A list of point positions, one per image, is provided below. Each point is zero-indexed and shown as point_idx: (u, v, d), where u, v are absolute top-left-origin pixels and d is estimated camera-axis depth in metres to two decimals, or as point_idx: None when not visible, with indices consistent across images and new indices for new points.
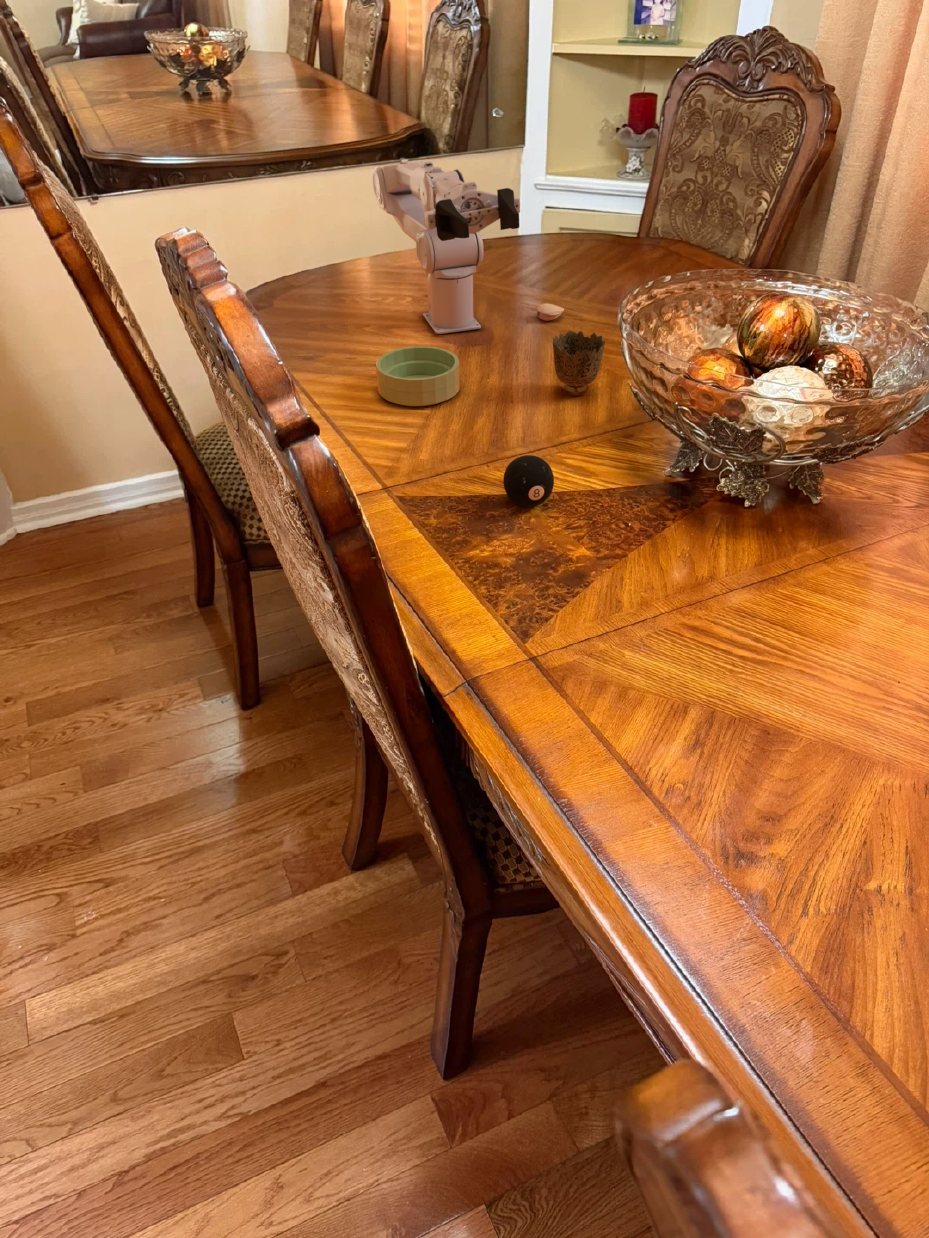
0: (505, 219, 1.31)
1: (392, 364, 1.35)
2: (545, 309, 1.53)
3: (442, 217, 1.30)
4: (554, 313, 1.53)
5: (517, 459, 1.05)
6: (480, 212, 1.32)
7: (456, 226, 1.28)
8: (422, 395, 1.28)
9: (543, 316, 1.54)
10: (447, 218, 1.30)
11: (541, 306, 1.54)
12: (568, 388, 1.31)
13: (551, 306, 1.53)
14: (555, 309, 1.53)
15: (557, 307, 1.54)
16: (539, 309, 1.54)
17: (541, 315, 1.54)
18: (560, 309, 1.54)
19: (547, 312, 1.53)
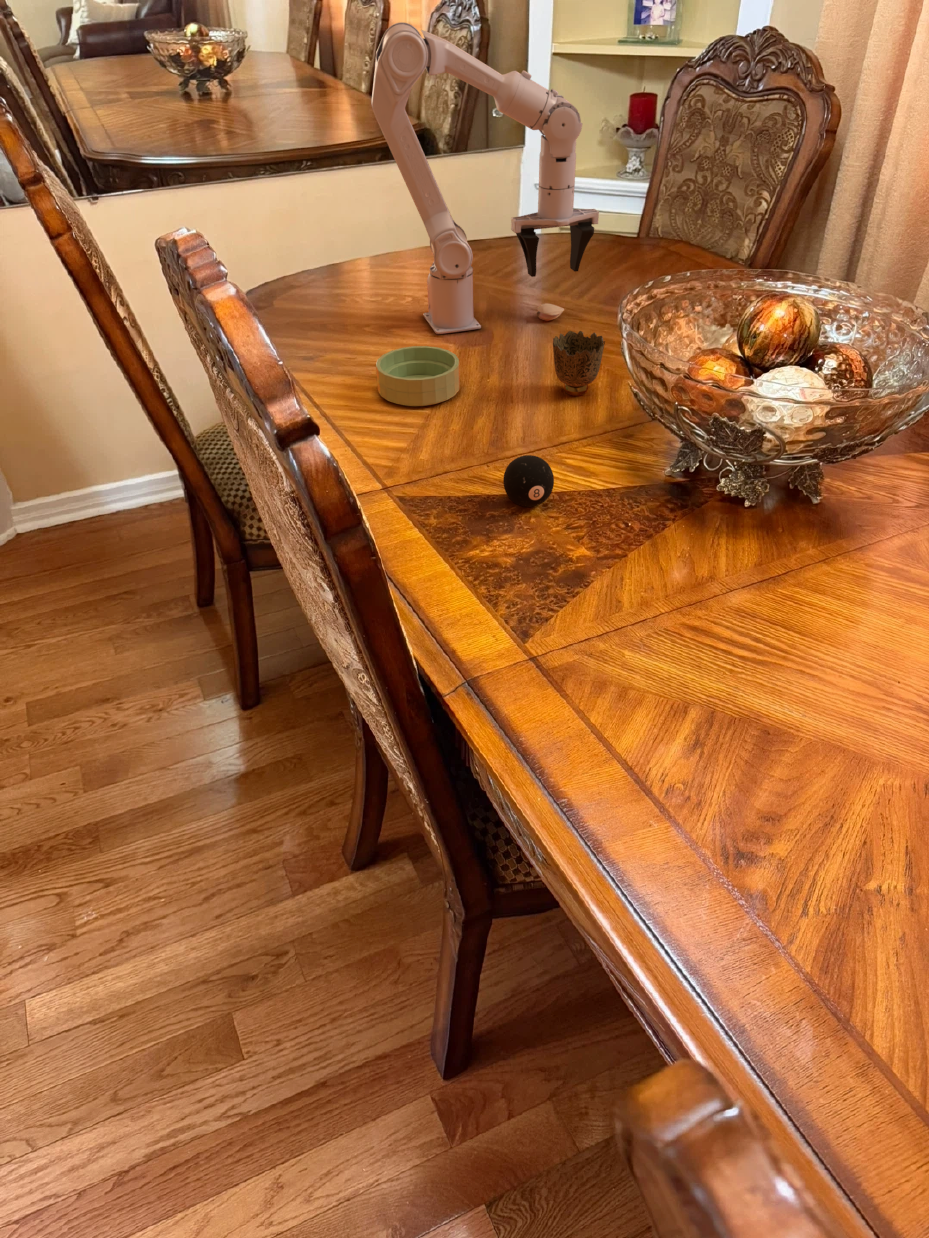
0: (573, 242, 1.49)
1: (392, 364, 1.35)
2: (545, 309, 1.53)
3: None
4: (554, 313, 1.53)
5: (517, 459, 1.05)
6: (560, 225, 1.46)
7: (529, 256, 1.48)
8: (422, 395, 1.28)
9: (543, 316, 1.54)
10: None
11: (541, 306, 1.54)
12: (568, 388, 1.31)
13: (551, 306, 1.53)
14: (555, 309, 1.53)
15: (557, 307, 1.54)
16: (539, 309, 1.54)
17: (541, 315, 1.54)
18: (560, 309, 1.54)
19: (547, 312, 1.53)
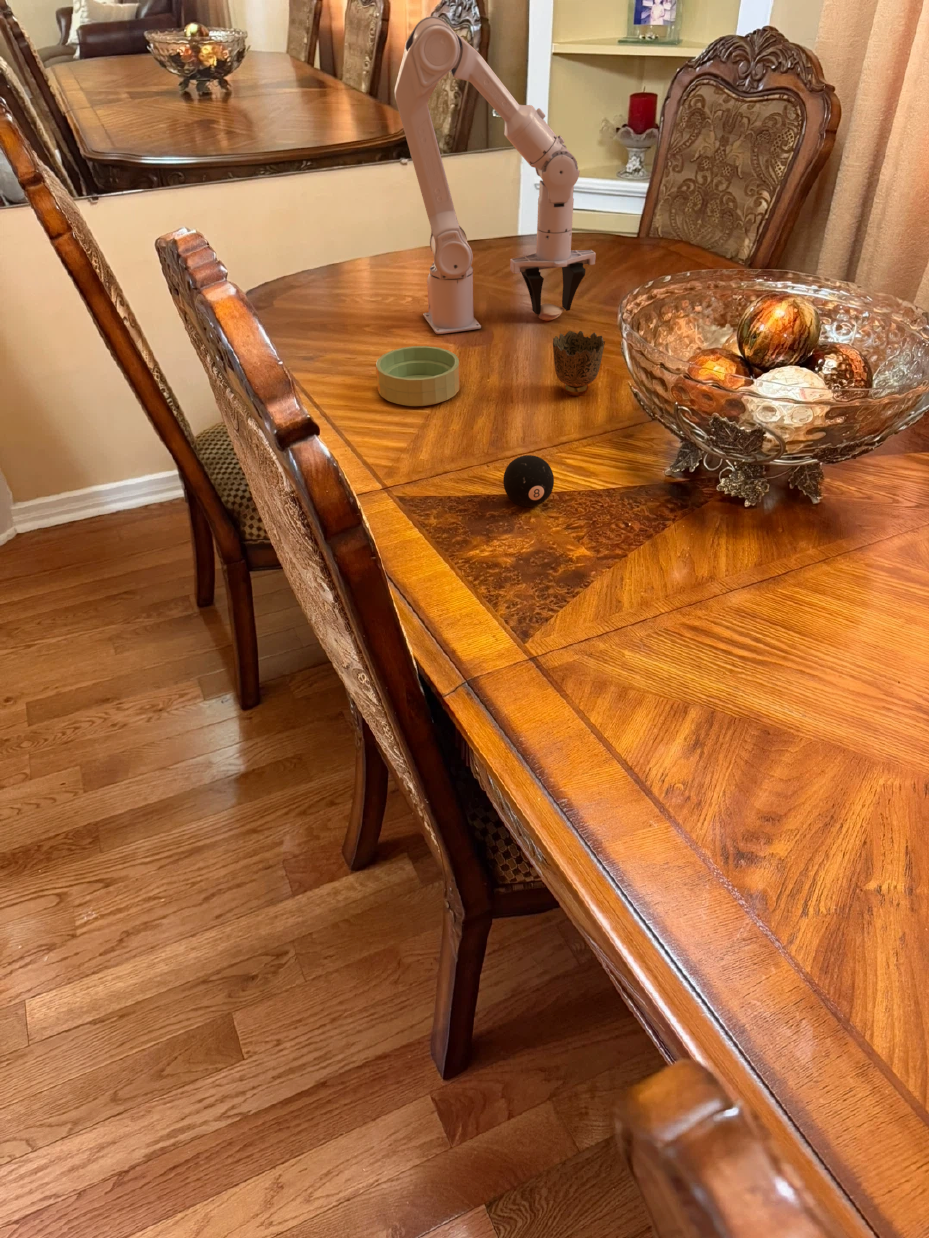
0: (565, 282, 1.53)
1: (392, 364, 1.35)
2: (545, 309, 1.53)
3: None
4: (554, 313, 1.53)
5: (517, 459, 1.05)
6: None
7: (534, 295, 1.52)
8: (422, 395, 1.28)
9: (543, 316, 1.54)
10: None
11: (541, 306, 1.54)
12: (568, 388, 1.31)
13: (551, 306, 1.53)
14: (555, 309, 1.53)
15: (557, 307, 1.54)
16: None
17: (541, 315, 1.54)
18: (560, 309, 1.54)
19: (547, 312, 1.53)
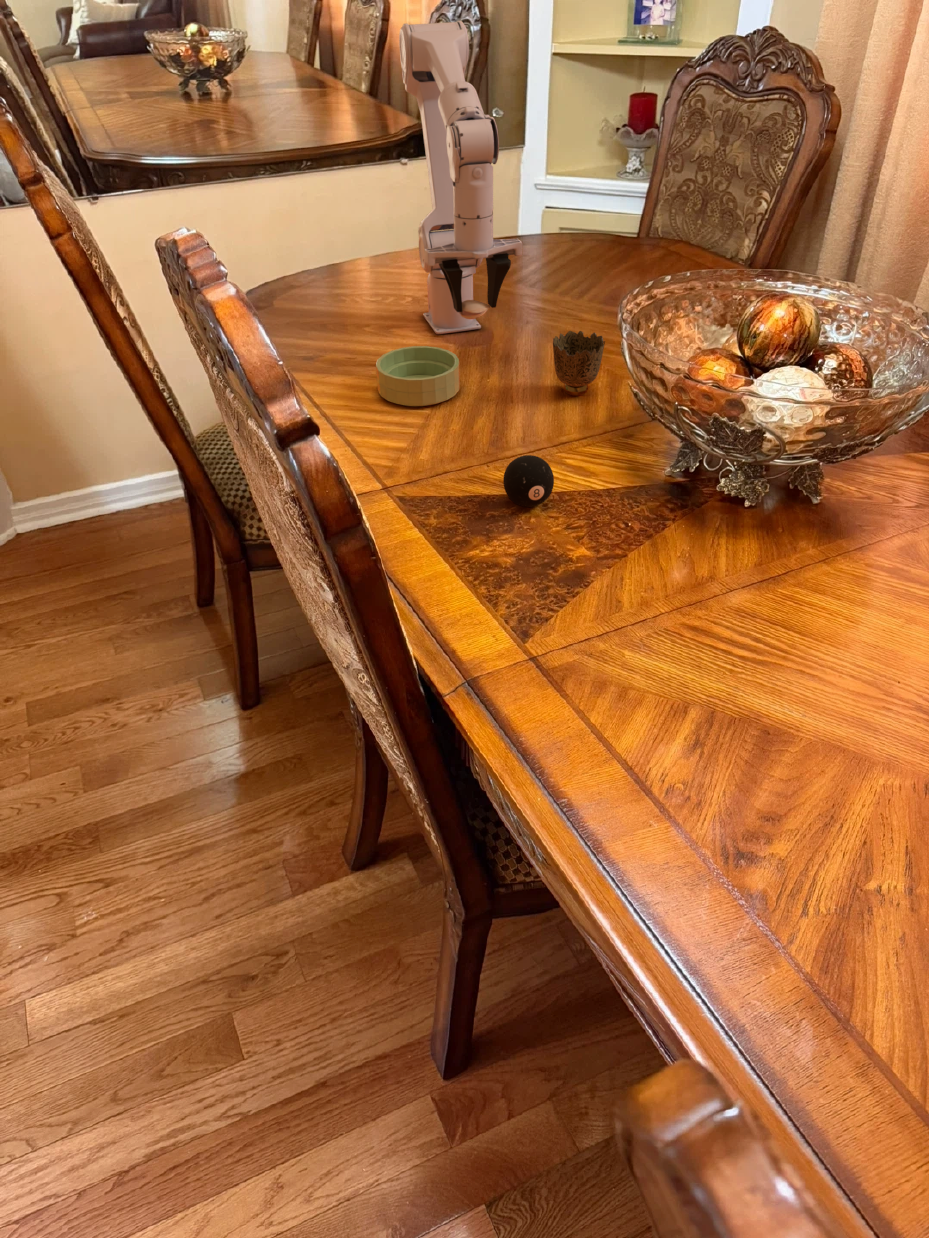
0: (489, 276, 1.35)
1: (392, 364, 1.35)
2: (467, 306, 1.35)
3: None
4: (478, 311, 1.35)
5: (517, 459, 1.05)
6: (480, 257, 1.32)
7: None
8: (422, 395, 1.28)
9: (466, 314, 1.36)
10: None
11: (463, 303, 1.36)
12: (568, 388, 1.31)
13: (474, 303, 1.36)
14: (479, 306, 1.35)
15: (481, 304, 1.36)
16: None
17: (464, 313, 1.36)
18: (485, 306, 1.36)
19: (470, 309, 1.35)
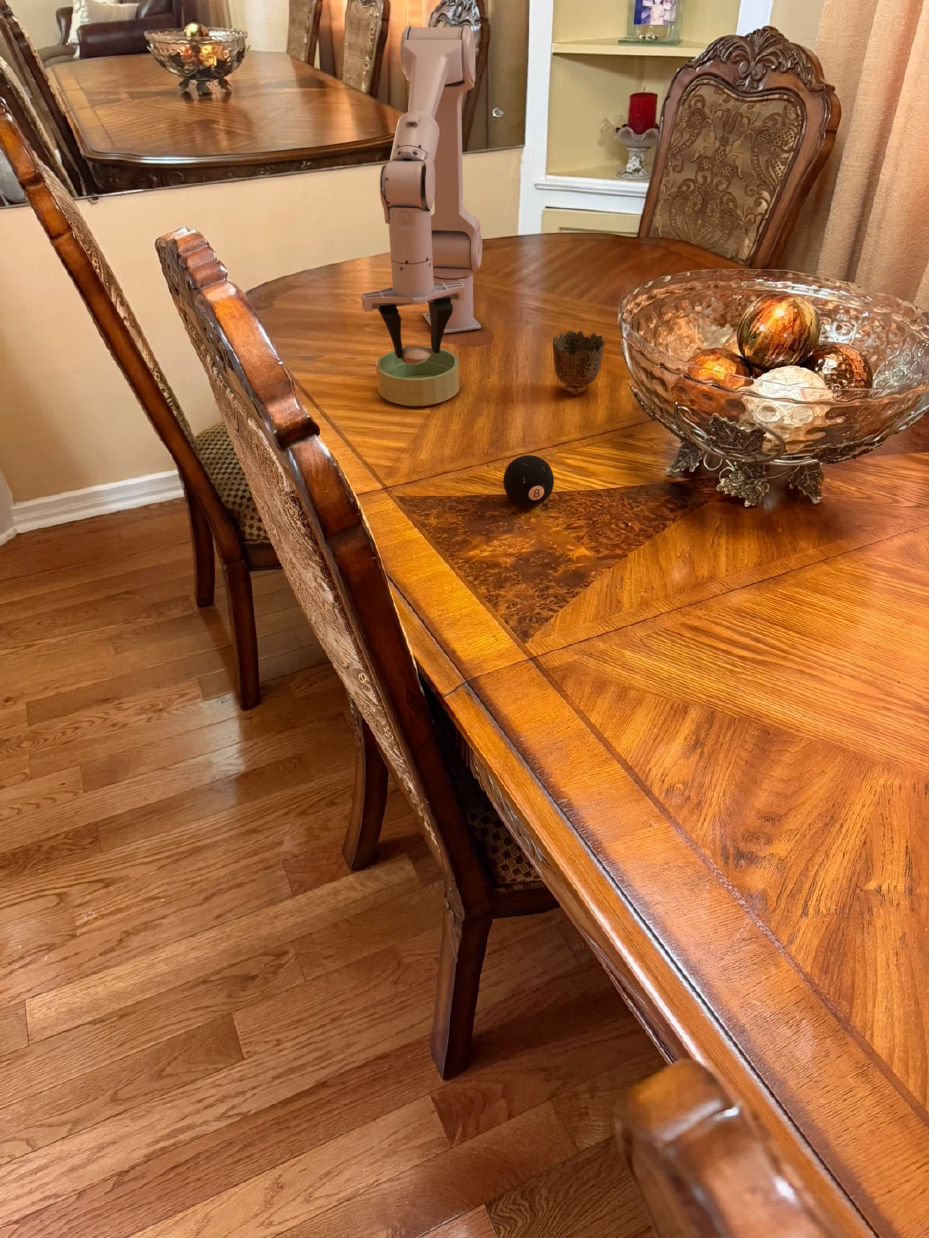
0: (432, 320, 1.28)
1: (392, 364, 1.35)
2: (408, 352, 1.28)
3: None
4: (419, 357, 1.28)
5: (517, 459, 1.05)
6: None
7: None
8: (422, 395, 1.28)
9: (407, 360, 1.29)
10: None
11: (405, 348, 1.29)
12: (568, 388, 1.31)
13: (416, 348, 1.29)
14: (421, 352, 1.29)
15: (424, 349, 1.29)
16: None
17: (405, 359, 1.30)
18: (428, 352, 1.29)
19: (411, 356, 1.28)
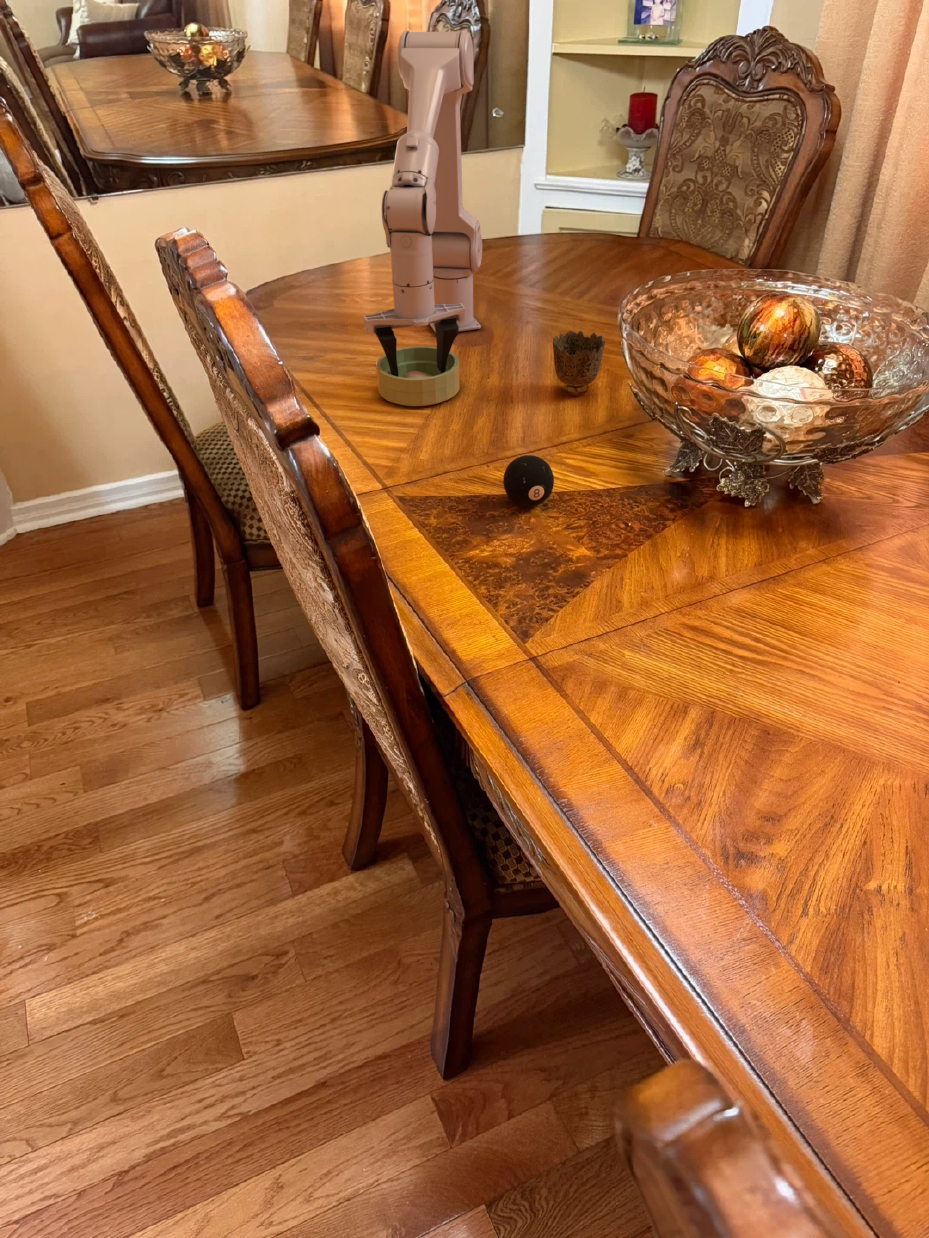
0: (438, 340, 1.31)
1: None
2: None
3: None
4: None
5: (517, 459, 1.05)
6: None
7: None
8: (422, 395, 1.28)
9: None
10: None
11: (406, 374, 1.32)
12: (568, 388, 1.31)
13: (417, 374, 1.31)
14: None
15: (425, 375, 1.32)
16: None
17: None
18: None
19: None
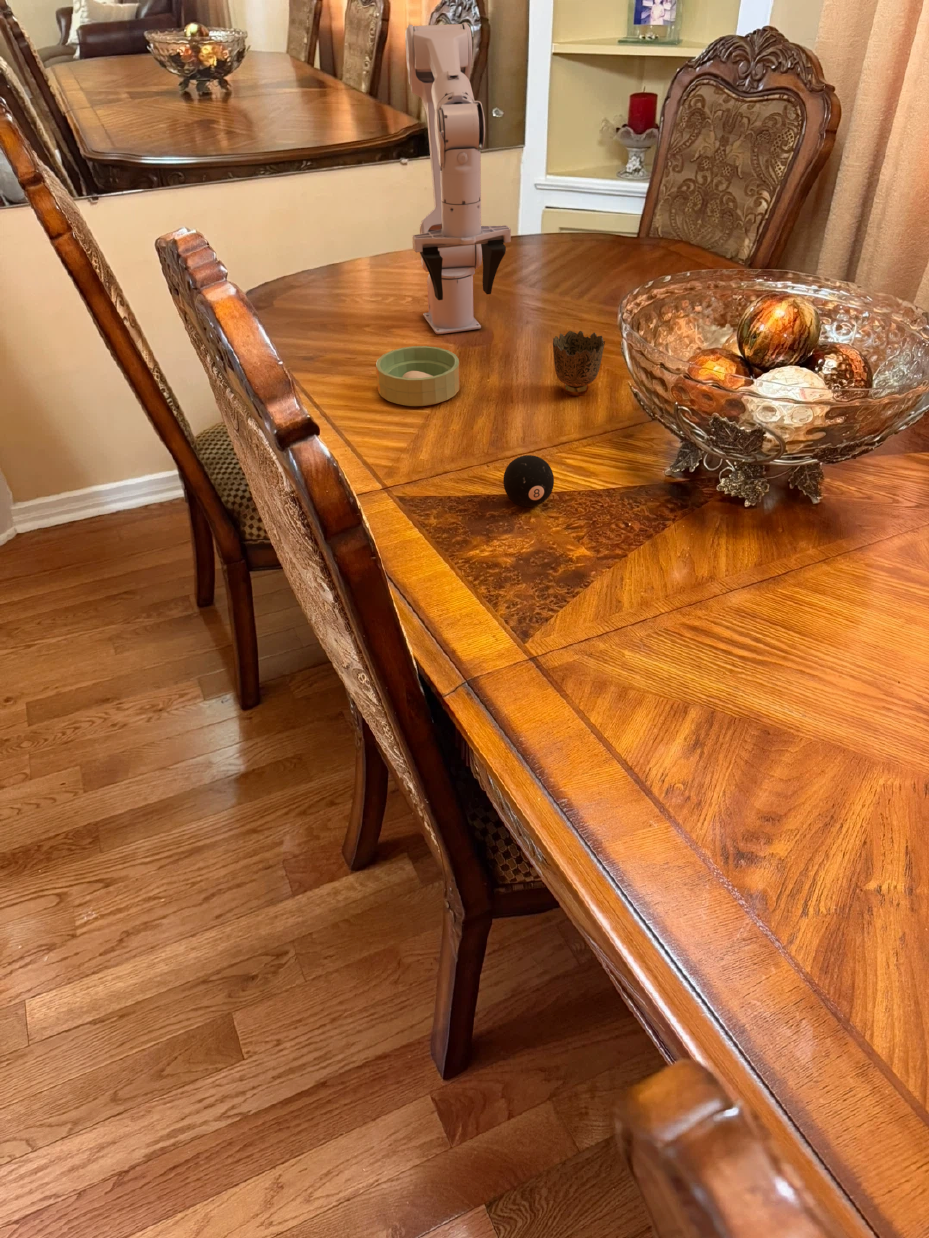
0: (484, 262, 1.34)
1: (392, 364, 1.35)
2: None
3: None
4: None
5: (517, 459, 1.05)
6: (468, 244, 1.31)
7: None
8: (422, 395, 1.28)
9: None
10: None
11: (406, 374, 1.32)
12: (568, 388, 1.31)
13: (417, 374, 1.31)
14: None
15: (425, 375, 1.32)
16: None
17: None
18: None
19: None
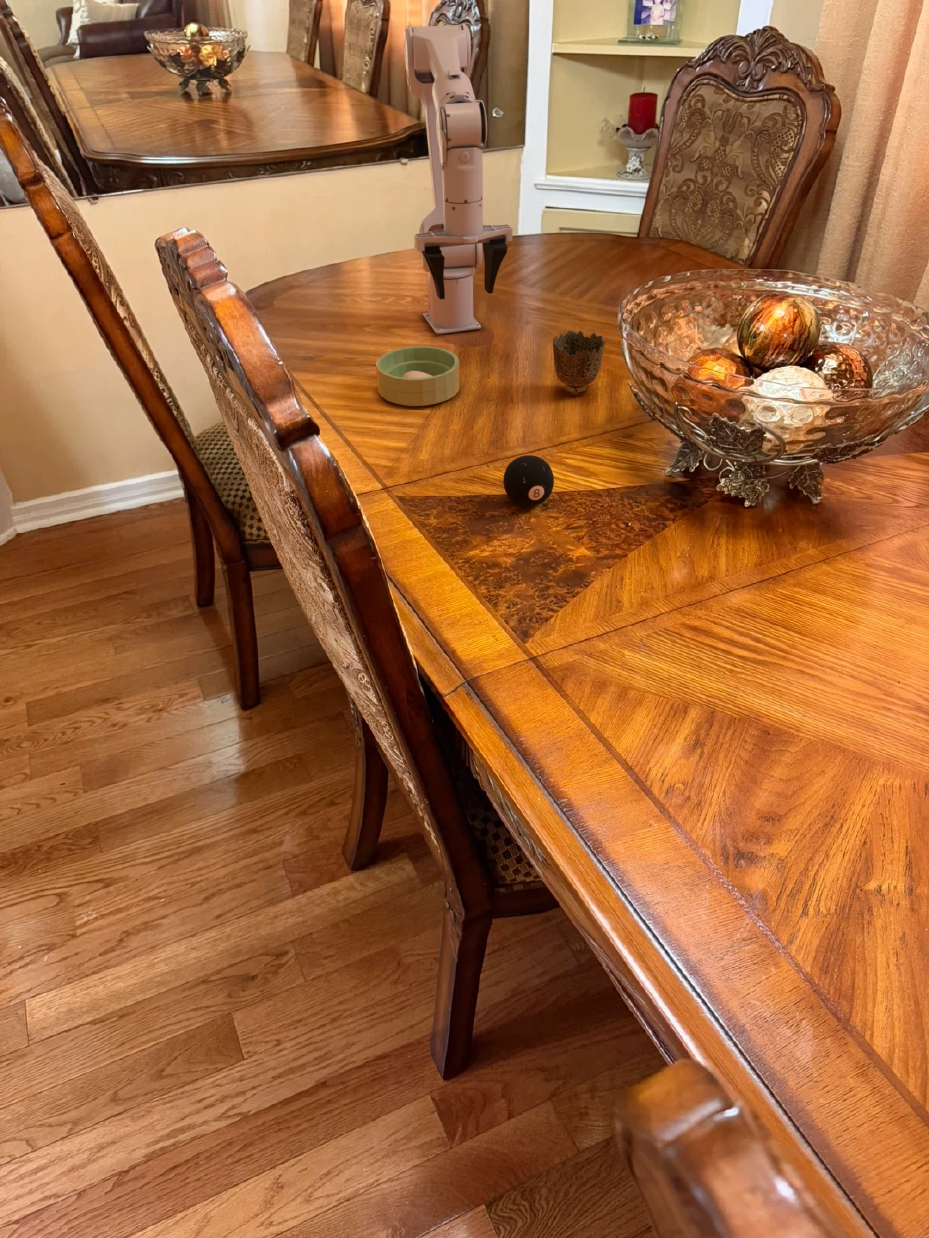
0: (486, 261, 1.34)
1: (392, 364, 1.35)
2: None
3: None
4: None
5: (517, 459, 1.05)
6: (470, 243, 1.31)
7: None
8: (422, 395, 1.28)
9: None
10: None
11: (406, 374, 1.32)
12: (568, 388, 1.31)
13: (417, 374, 1.31)
14: None
15: (425, 375, 1.32)
16: None
17: None
18: None
19: None
